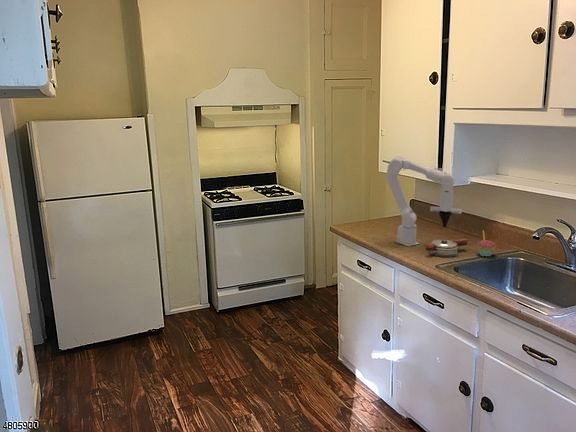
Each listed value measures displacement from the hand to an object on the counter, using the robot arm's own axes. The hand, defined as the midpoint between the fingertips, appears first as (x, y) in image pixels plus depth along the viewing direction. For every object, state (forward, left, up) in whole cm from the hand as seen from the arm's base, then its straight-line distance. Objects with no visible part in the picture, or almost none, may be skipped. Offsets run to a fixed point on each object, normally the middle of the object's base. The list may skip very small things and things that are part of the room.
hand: (444, 226), depth 237 cm
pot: (+9, -6, -10) cm, 15 cm away
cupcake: (+20, +7, -10) cm, 23 cm away
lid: (+9, -6, -6) cm, 12 cm away
